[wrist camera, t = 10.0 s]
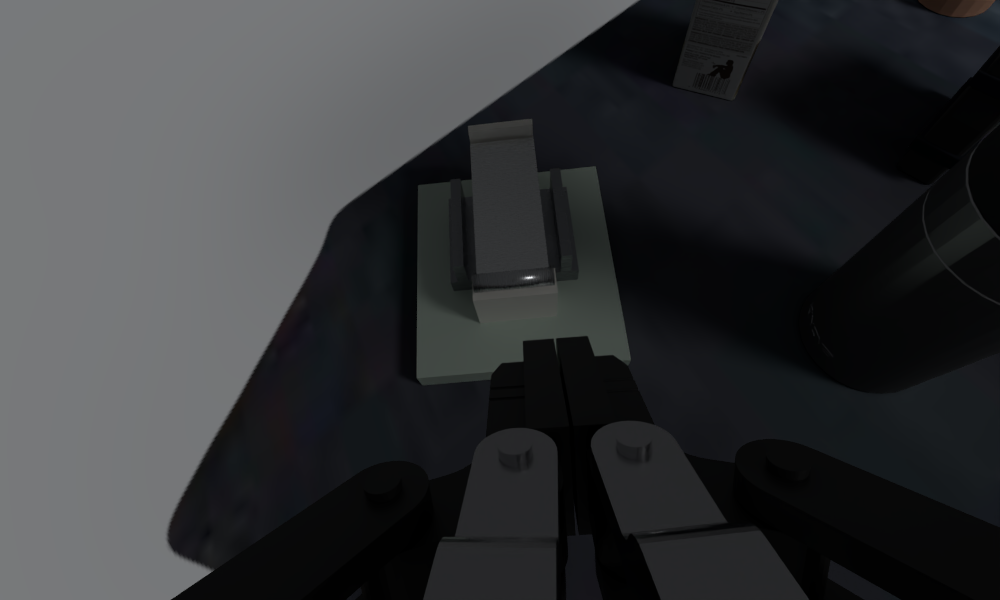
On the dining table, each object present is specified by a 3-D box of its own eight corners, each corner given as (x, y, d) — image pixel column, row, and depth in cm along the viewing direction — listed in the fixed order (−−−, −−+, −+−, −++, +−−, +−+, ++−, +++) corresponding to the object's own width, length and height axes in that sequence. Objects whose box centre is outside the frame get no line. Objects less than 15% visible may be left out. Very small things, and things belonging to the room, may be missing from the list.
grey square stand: (593, 180, 46) (603, 110, 38) (626, 367, 39) (647, 327, 31) (423, 198, 47) (398, 133, 39) (422, 385, 39) (392, 350, 32)
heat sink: (565, 197, 43) (567, 167, 40) (577, 279, 40) (580, 254, 36) (451, 209, 44) (442, 180, 40) (453, 291, 40) (444, 267, 37)
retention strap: (554, 288, 35) (537, 148, 40) (555, 279, 34) (537, 135, 39) (475, 296, 35) (468, 155, 41) (472, 287, 34) (466, 143, 39)
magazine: (881, 175, 42) (1069, -26, 31) (911, 141, 50) (1068, -29, 39) (926, 200, 40) (1138, -1, 30) (949, 161, 48) (1123, -10, 38)
